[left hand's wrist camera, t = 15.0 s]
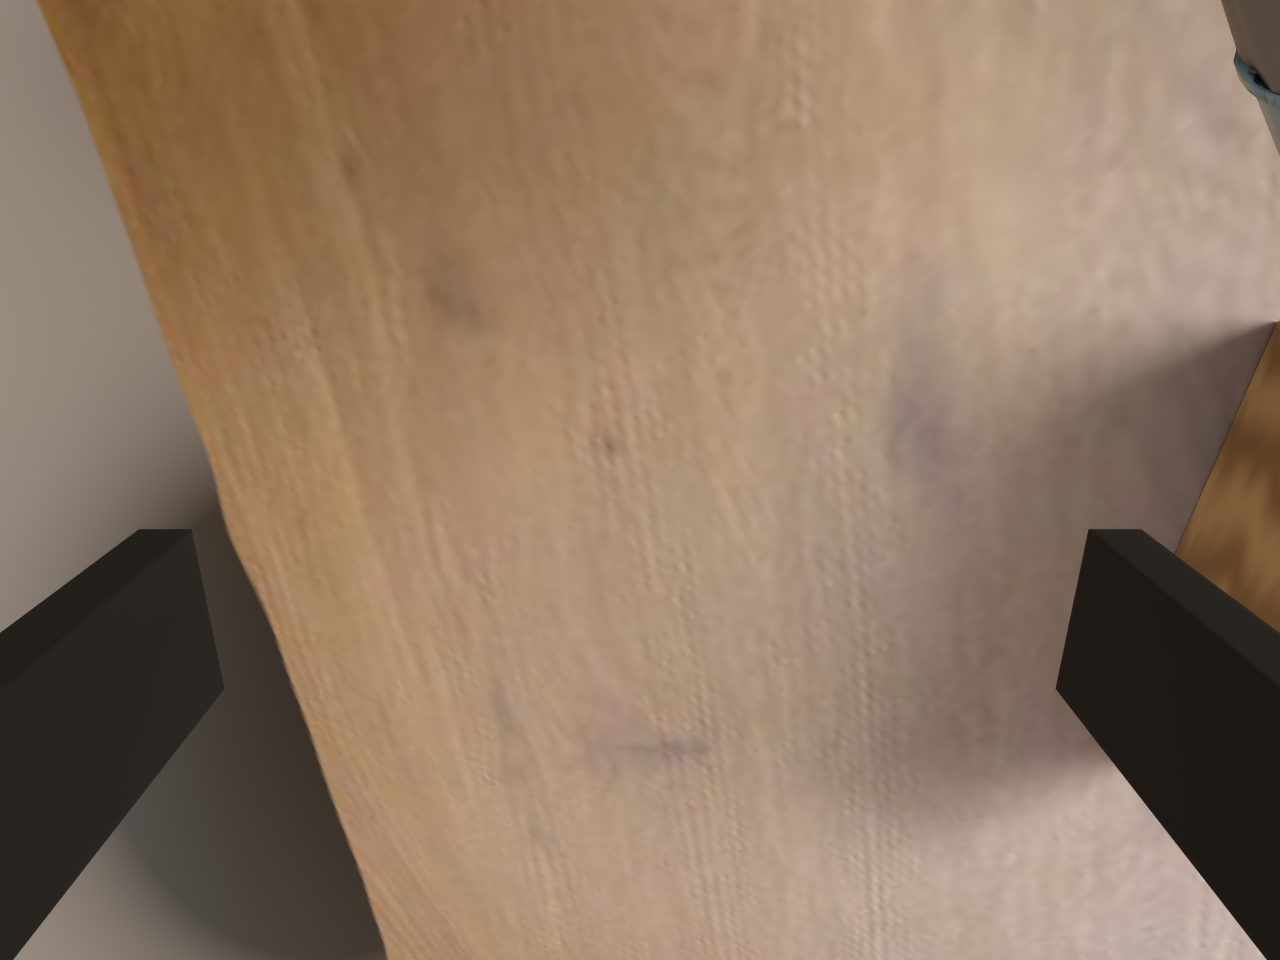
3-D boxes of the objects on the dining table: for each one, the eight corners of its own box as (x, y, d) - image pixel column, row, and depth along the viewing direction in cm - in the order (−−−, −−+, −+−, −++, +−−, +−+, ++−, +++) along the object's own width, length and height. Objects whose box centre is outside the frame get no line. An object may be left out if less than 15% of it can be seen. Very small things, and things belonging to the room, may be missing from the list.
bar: (1276, 320, 41) (1428, 359, 33) (1369, 337, 41) (1541, 380, 33) (1094, 733, 49) (1180, 842, 42) (1172, 745, 50) (1272, 855, 42)
